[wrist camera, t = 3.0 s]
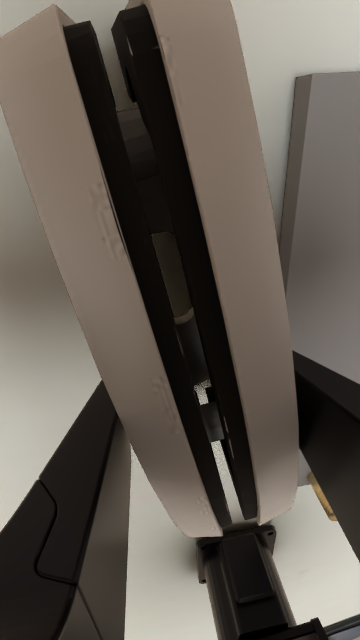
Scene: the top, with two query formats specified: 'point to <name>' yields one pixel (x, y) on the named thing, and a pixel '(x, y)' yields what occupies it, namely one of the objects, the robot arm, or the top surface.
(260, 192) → the curved beige panel
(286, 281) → the plate
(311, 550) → the top surface
